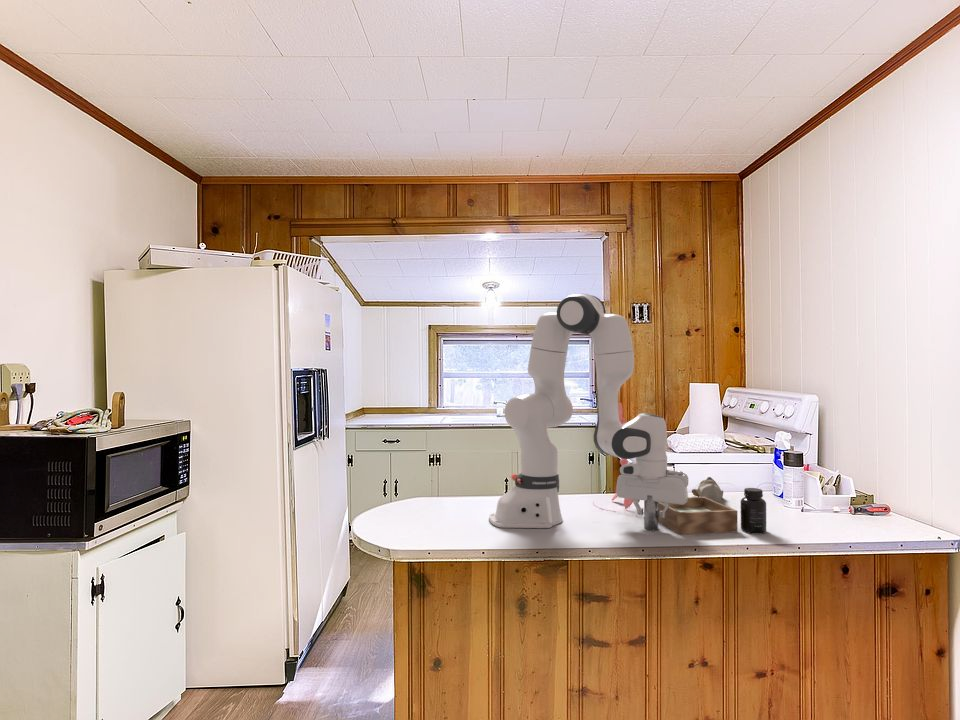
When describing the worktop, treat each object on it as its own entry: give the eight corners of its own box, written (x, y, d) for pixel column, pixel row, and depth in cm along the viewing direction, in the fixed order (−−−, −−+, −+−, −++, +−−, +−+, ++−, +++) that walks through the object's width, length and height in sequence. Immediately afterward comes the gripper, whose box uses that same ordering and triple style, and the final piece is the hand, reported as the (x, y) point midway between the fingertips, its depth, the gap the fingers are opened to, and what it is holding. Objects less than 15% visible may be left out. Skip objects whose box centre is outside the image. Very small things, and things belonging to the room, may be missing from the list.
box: (678, 534, 171) (678, 513, 171) (650, 517, 189) (650, 498, 189) (737, 531, 174) (737, 510, 174) (704, 515, 192) (704, 496, 192)
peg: (647, 530, 175) (647, 496, 175) (641, 526, 179) (641, 493, 179) (660, 530, 175) (660, 495, 175) (654, 526, 179) (654, 492, 179)
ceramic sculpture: (696, 478, 206) (690, 473, 221) (696, 504, 206) (690, 497, 220) (729, 480, 204) (721, 475, 219) (729, 506, 203) (721, 499, 218)
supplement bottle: (736, 527, 178) (736, 486, 178) (760, 527, 178) (760, 486, 178) (746, 534, 171) (746, 491, 171) (770, 534, 171) (770, 492, 171)
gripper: (690, 470, 175) (690, 518, 175) (620, 464, 185) (620, 509, 185) (686, 473, 169) (686, 523, 169) (614, 467, 179) (614, 514, 179)
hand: (651, 516), depth 177 cm, fingers open, 5 cm apart
